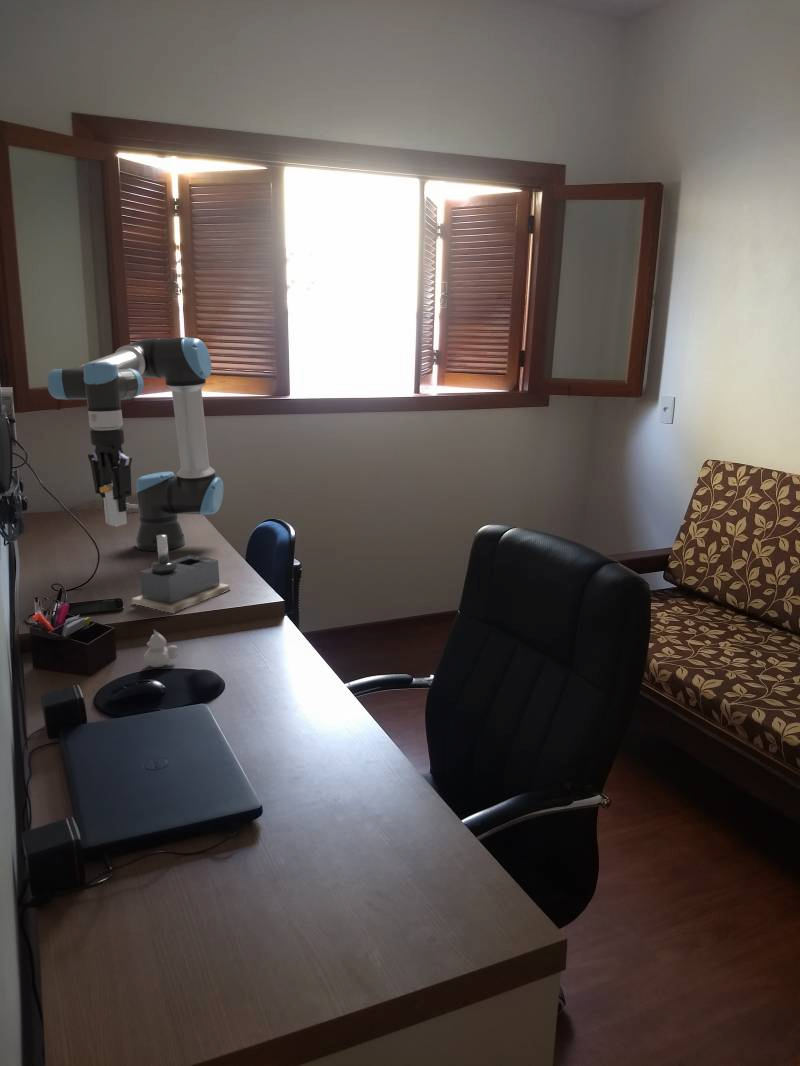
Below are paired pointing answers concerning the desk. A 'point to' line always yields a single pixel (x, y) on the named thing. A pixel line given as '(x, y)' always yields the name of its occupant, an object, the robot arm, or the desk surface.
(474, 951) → the desk surface
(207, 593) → the base board
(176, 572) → the block
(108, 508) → the light grey boxy piece
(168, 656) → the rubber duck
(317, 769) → the desk surface
